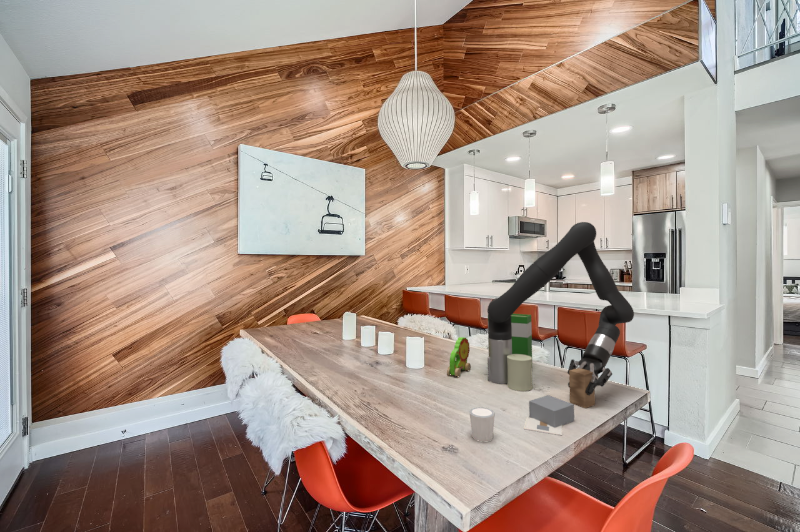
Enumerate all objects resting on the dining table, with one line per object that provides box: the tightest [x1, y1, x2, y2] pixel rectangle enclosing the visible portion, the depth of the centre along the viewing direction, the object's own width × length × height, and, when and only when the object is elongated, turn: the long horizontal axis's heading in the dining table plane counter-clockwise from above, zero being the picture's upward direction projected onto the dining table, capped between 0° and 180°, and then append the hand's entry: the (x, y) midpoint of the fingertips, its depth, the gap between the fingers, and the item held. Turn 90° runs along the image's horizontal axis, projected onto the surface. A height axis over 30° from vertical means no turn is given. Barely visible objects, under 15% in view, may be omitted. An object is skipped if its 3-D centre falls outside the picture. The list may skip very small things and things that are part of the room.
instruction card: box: [523, 416, 563, 436], centre depth 103 cm, size 10×8×1 cm
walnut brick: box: [568, 368, 596, 409], centre depth 118 cm, size 5×5×11 cm
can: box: [506, 354, 534, 392], centre depth 135 cm, size 9×9×12 cm
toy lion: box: [446, 336, 472, 378], centre depth 155 cm, size 16×5×15 cm, turn 144°
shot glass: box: [468, 406, 495, 442], centre depth 98 cm, size 7×7×7 cm
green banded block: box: [487, 313, 533, 358], centre depth 161 cm, size 18×7×24 cm, turn 56°
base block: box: [528, 394, 575, 428], centre depth 108 cm, size 9×9×5 cm
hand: (578, 390), depth 117 cm, fingers closed on walnut brick, 5 cm apart
